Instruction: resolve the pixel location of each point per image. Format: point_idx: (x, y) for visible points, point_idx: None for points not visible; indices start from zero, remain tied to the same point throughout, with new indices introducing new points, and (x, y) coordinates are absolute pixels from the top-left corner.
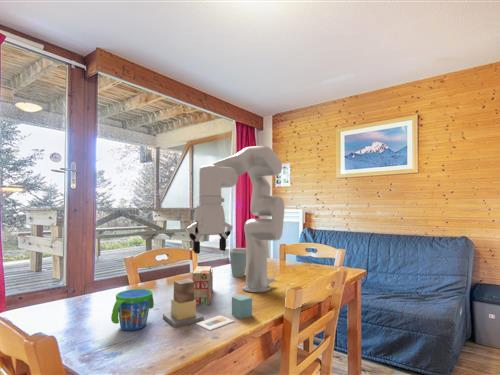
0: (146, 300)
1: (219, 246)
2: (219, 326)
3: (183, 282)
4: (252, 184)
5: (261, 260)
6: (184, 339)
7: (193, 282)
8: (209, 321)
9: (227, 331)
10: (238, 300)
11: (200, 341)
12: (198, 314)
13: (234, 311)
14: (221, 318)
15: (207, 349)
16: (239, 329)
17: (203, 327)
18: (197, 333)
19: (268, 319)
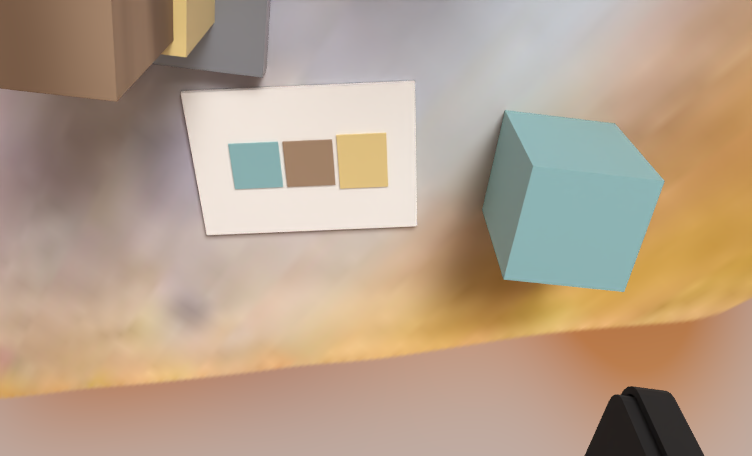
0: None
1: (642, 448)
2: (286, 230)
3: None
4: None
5: None
6: (25, 231)
7: (107, 97)
8: (278, 129)
9: (287, 298)
10: (508, 256)
11: (95, 301)
12: (252, 6)
13: (502, 159)
14: (375, 146)
15: (89, 379)
16: (358, 319)
17: (196, 173)
18: (125, 214)
19: (596, 324)
